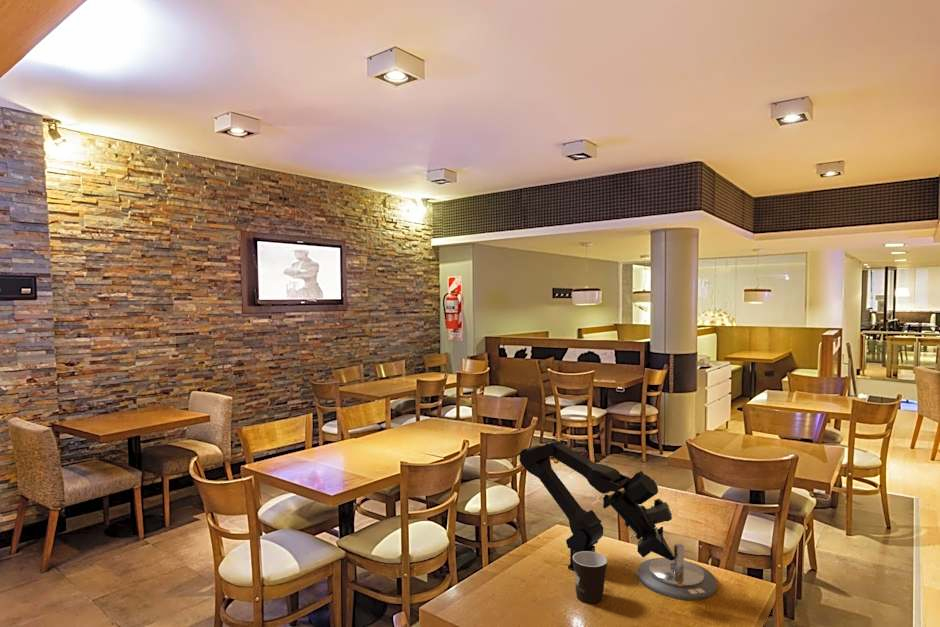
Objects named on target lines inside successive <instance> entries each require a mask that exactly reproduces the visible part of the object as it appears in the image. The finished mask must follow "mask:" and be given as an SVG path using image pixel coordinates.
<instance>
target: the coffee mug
mask: <svg viewBox="0 0 940 627" xmlns="http://www.w3.org/2000/svg"><path fill="white" fill-rule="evenodd" d="M607 564H608V558H607V557H606V556H605V555H603V554H602V553H598V552H597V551H595V552H591V551H582V552H578V553H575V554H574V555H573V567H574V570H573V576H574V583H575V592H576V599H577V600H578V601H579V602H581V603H582V604H587V605H598V604H600V603H601V602H603V597H604V596H603V595H604V588H605V579H606V574H607V573H606V572H607V566H608V565H607Z"/></svg>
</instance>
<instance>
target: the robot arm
mask: <svg viewBox="0 0 940 627" xmlns="http://www.w3.org/2000/svg"><path fill="white" fill-rule="evenodd" d="M551 457H552V458H553V459H555V460H557V461H558V462H560V463H562V464H563V465H565V466H567V467H568V468H570V469H571V470H573V471H575V472H576V473H578V474H580V475H581V476H583V477H584V478H585V479H586V481H587V483H588V484H589V485H590V486H591V488H594V490H596V491H597V492H598V493H600V494H603V495H604V496H603V498H602V500H603V503H602V505H603V506H602V507H603V509H607V508H608V507H609V506H611V508H613V509H614V511H615V512H616V513H617V514H618V515H619V516H620V518H621V519H622V520H623V521H624V526H625V527H627V528H628V527H630V529H631V530H632V531H633V532H634V533H635V538H636V539H637V540H638V541H637V553H638V554H639V556H641V557H642V558H645V557H646V556H648V555H649V554H650V553H653V554H655V555H658V556H660V557H661V558H667V559H669V560H671V561H673V560H674V559H675V558H674V552H673V551H672V550H671V548H670V546H669V545H668V543H667V541H666V539H665V537H664V526H660V527H659V528H658V527H657V525H656V524H660V523H663V522H669V521H671V520H672V519H673V516H672V515H673V513H672V512H671V510H670V507H669V504H668V503H667V502H664V501H663V500H661V499H660V498H656V499H654V500H653V501H654V505H653V506H652V505H651V506H650V507H649V508H646V506H645V505H643V504H644V503H646V502H647V501H649V500H650V499H651V498H653V497H654V496H656V495H657V494H658V493H659V487H658V485H657V483H656V481H655V480H654V479H653V478H651V477H650V476H648V475H647V474H645V473H644V472H643V471H642V470H639V471H638V472H636V473H635V474H634V475H633V476H632V477H629V476H626V475H624V474H623V473H620V471H619V470H618V469H616V468H615V467H611V466H609V465H606V464H601V463H597V462H594V461H592V460H590V459H588V458H587V457H585V456H584V455H582V454H580V453H578V452H577V451H575V450H574V449H572V448H570V447H568V446H567V445H564V444H563V443H562V442H561V441H560V440H553V441H549V442H547V443H546V444H544V445H538V444H536V445H532V446H529V447H527V448H523V449H522V450H520V453H519V459H518V460H519V463H520V465H521V466H522V467H523V468H524V469H525V470H526V471H527V472H528V473H529V474H531V475H533V476H534V477H536V478H537V479H539V480H540V482H541V483H542V485H543V486H544V487H545V489H546V490H547V492H548V493H549V494H550V496H551V497H552V499H553V500H554V501H555V503H556V504H557V506H558V507H559V508H560V510H562V512H563V514H564V515H565V516H566V518H567V520H568V523H569V529H570V531H571V533H572V535H570V536H569V537H568V538H567V539H566V540H565V542H566V545H567V548H568V549H570V550H569V551H570V554H569V559H570V560H569V562H570V563H569V564H568V565H567V569H568V570H569V569H570V570H572V571H574V567H573V555H574V554H575V553H578V552H582V551H591V552H596V546H595V545H597V544H598V543H599V540H600V539H602V537H603V535H604V526H603V524H602V520H601V519H599V517H598V516H597V514H596V513H595V512H594V511H593V509H590V510H588V511H587V510H585V509H584V508H582V507H581V505H580V503H578V502H577V500H576V499H575V497H574V496H573V495H572V493H571V492H570V490H568V488H567V487H566V485H565V484H564V483H563V481H562V480H561V479H560V477H559V476H558V475H557V473H556V471H555V470H553V468H552V464H551ZM622 489H623V490H622ZM610 492H613V493H611V494H608V493H610Z"/></svg>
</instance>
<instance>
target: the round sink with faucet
mask: <svg viewBox="0 0 940 627" xmlns="http://www.w3.org/2000/svg"><path fill="white" fill-rule="evenodd" d="M673 547H674V548H673V549H674V550H673V555H674V558H675V559H674V560H673V561H671V560H669V559H667V558H665V557H658V558H659V559H655V560H653V561H652V562H651V563H650V564H649V572H650V574H651V575H652V576H653V577H654V578H655V579H657V580H658V581H660V582H663V583H665V584H668V585H672V586H677V587H695V586H698V585H700V584H702V583H703V582H704V572H703V570H702V569H701V568H700V567H698V566H697V565H698V564H697V565H695V564H696V563H694V562H691V561H688V560H685V546H684V545H683V544H679V543H676V544H674V546H673ZM693 563H694V564H693Z"/></svg>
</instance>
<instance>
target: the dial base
mask: <svg viewBox="0 0 940 627" xmlns="http://www.w3.org/2000/svg"><path fill="white" fill-rule="evenodd" d="M659 558H660V557H656V558H650V559H647V560H644V561H642V562H640V564H639V565H638V567H637V579H638V580H639V582H640V583H641V584H642V585H643V586H644V587H645V588H647V589H648V590H650V591H652V592H654V593H656V594H659V595H661V596H664V597H667V598H672V599H675V600H676V599H677V600H683V601H695V600H696V601H697V599H699V600H704V599H708V598H710V597H712V596H713V595H714V594H715V593H716V592H715V591H717V589H716V588H717V586H718V585H717V583H718V581H717V579H716V578H717V577H715V575H714V574H713V573H712V572H711V571H710V570H708V569H707V568H705V567H704V566H701V565H699V564H696V563H694V562H692V563H693V564H695V565H697V566H698V567H700V568H701V569H702V570H703V572H704V582H703V583H702V584H700V585H698V586H695V587H677V586H672V585H668V584H665V583H663V582H660V581H658V580H657V579H655V578H654V577H653V576H652V575H651V574H650V572H649V564H650V563H651V562H652V561H653V560H655V559H659ZM711 595H712V596H711ZM707 597H708V598H707Z"/></svg>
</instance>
